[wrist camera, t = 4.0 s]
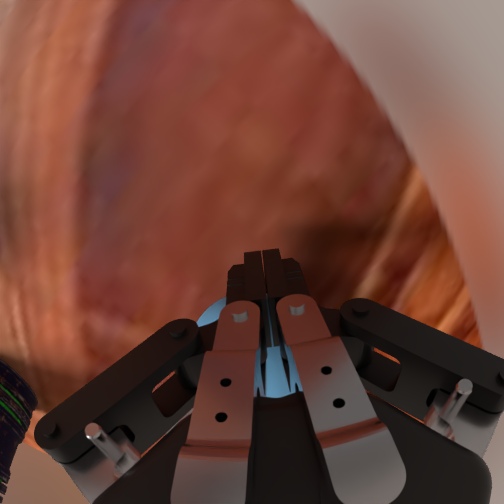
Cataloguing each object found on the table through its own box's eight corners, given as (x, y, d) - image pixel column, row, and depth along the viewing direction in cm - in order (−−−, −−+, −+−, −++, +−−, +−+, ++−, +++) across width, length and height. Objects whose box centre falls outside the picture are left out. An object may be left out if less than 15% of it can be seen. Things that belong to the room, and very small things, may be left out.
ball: (163, 343, 11) (192, 432, 13) (327, 338, 10) (314, 430, 13) (192, 272, 16) (207, 357, 18) (305, 267, 16) (302, 353, 18)
